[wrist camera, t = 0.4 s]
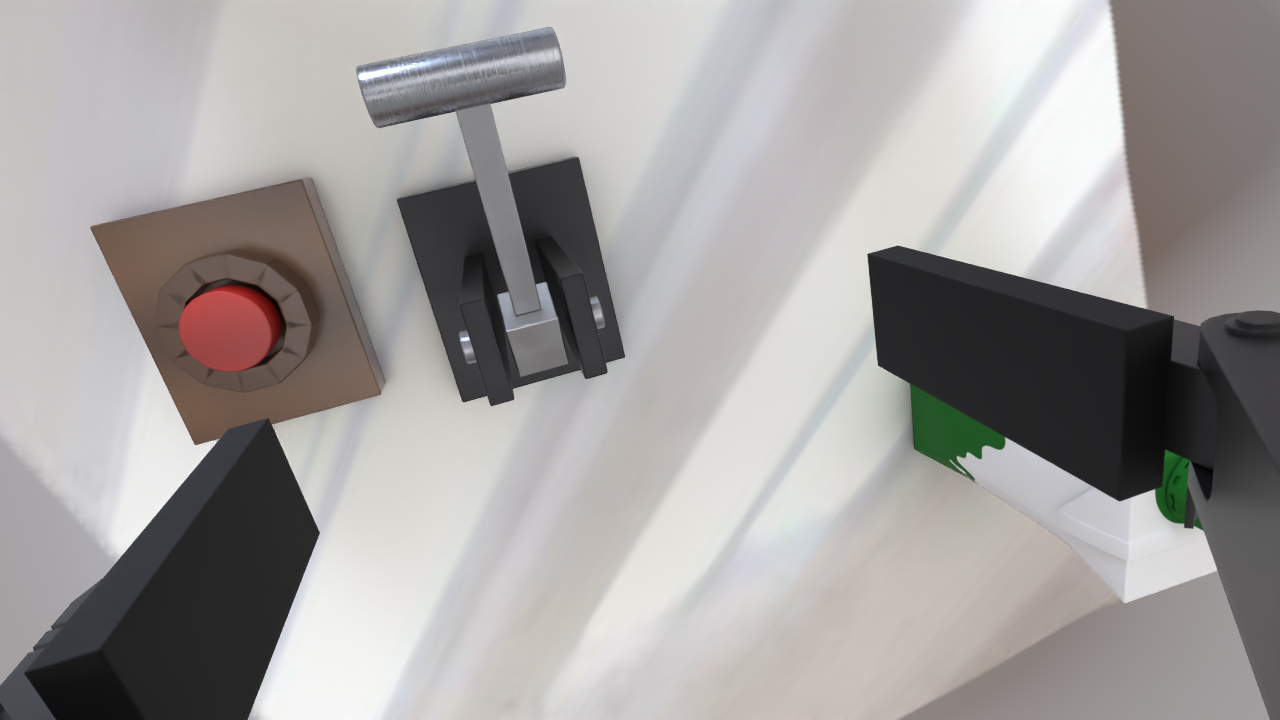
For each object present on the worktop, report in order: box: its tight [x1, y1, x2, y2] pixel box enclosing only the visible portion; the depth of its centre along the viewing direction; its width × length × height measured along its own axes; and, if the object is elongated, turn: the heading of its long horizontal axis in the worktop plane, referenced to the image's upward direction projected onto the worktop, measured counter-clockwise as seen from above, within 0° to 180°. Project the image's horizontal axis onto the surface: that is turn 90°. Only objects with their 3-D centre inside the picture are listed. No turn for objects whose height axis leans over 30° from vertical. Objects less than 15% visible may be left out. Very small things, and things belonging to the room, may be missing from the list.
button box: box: [90, 178, 385, 445], centre depth 36 cm, size 12×10×4 cm
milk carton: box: [911, 384, 1217, 603], centre depth 41 cm, size 9×9×20 cm
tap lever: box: [356, 27, 569, 377], centre depth 25 cm, size 13×6×2 cm, turn 13°
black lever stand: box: [397, 157, 625, 406], centre depth 34 cm, size 12×10×14 cm
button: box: [179, 285, 281, 372], centre depth 34 cm, size 4×4×2 cm
